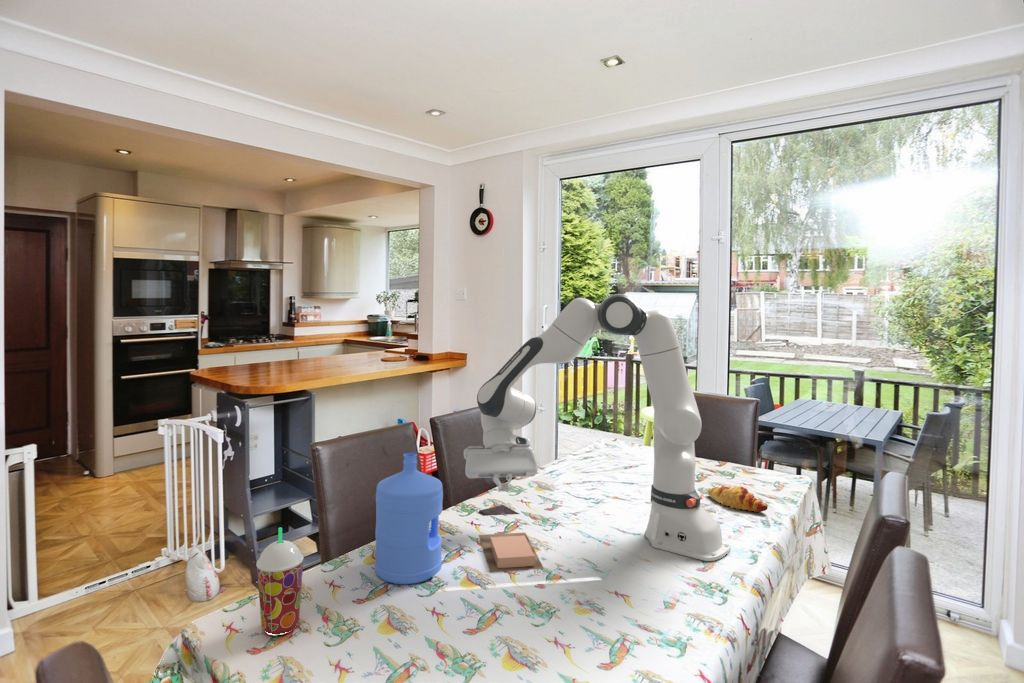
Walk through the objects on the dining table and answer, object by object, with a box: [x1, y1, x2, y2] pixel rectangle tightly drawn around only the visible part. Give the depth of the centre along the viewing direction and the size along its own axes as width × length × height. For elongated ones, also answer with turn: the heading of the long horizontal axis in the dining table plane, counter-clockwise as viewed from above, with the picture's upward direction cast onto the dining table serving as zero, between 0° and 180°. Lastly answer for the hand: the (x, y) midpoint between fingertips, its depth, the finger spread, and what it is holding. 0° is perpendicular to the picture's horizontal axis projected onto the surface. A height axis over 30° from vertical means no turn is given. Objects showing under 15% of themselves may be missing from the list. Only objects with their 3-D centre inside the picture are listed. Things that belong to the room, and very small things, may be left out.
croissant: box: [706, 485, 768, 513], centre depth 182 cm, size 21×10×8 cm, turn 38°
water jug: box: [374, 452, 444, 585], centre depth 132 cm, size 16×16×28 cm
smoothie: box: [255, 527, 304, 634], centre depth 107 cm, size 8×8×20 cm
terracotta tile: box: [490, 535, 535, 568], centre depth 139 cm, size 3×9×12 cm
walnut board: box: [478, 532, 544, 573], centre depth 143 cm, size 21×13×1 cm, turn 11°
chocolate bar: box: [478, 504, 520, 516], centre depth 166 cm, size 9×1×18 cm
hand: (504, 490), depth 151 cm, fingers closed
